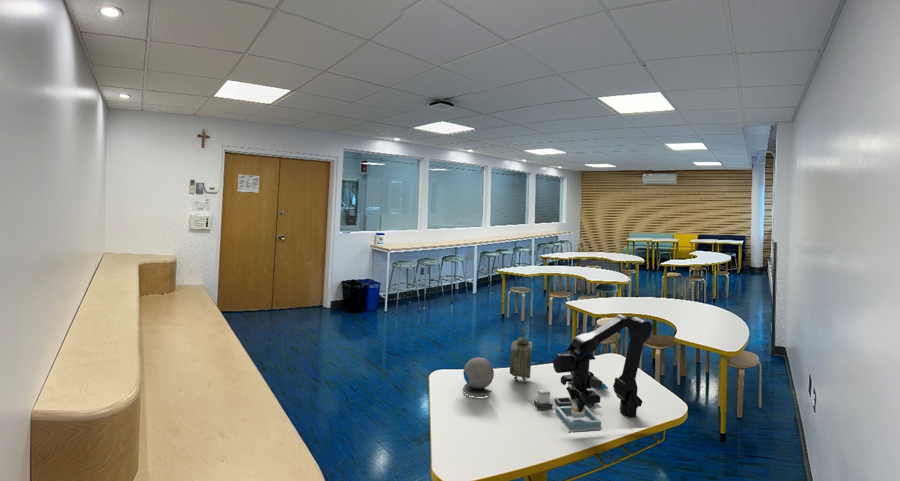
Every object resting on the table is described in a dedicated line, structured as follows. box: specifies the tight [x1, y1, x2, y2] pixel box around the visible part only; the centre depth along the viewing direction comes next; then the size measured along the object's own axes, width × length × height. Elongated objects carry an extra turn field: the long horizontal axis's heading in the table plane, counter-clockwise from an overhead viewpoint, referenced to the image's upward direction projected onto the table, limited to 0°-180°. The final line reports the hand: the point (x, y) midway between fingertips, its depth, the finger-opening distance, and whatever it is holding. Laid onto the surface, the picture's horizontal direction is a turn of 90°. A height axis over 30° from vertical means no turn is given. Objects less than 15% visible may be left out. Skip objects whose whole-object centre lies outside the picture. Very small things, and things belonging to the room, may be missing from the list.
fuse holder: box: [527, 396, 603, 412], centre depth 179 cm, size 9×28×3 cm, turn 100°
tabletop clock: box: [509, 327, 533, 385], centre depth 201 cm, size 14×9×25 cm, turn 168°
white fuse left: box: [536, 388, 551, 404], centre depth 177 cm, size 3×4×6 cm, turn 100°
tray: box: [554, 405, 602, 434], centre depth 167 cm, size 12×12×4 cm
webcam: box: [462, 356, 495, 397], centre depth 189 cm, size 13×13×15 cm
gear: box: [592, 376, 609, 390], centre depth 195 cm, size 11×6×10 cm
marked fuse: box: [570, 399, 586, 419], centre depth 166 cm, size 3×4×6 cm, turn 105°
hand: (578, 410), depth 166 cm, fingers closed on marked fuse, 3 cm apart
